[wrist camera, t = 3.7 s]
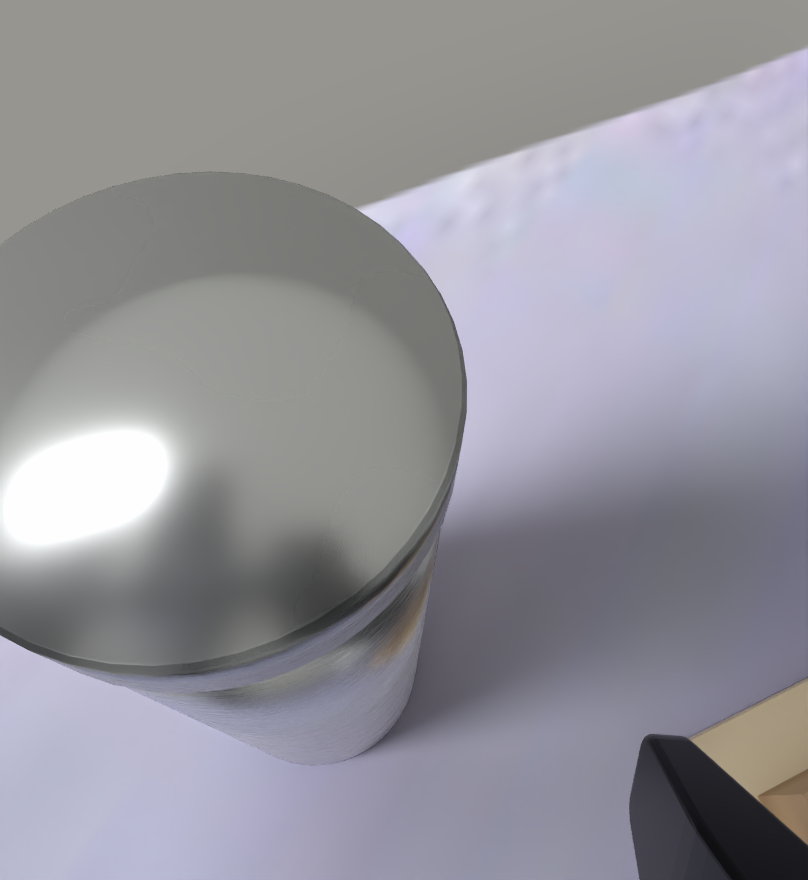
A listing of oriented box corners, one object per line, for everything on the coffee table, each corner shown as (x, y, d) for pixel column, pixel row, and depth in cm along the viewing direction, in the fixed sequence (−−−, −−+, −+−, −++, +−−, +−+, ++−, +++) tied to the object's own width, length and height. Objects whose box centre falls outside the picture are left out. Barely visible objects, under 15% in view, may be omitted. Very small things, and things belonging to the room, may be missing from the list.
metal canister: (450, 714, 17) (571, 517, 6) (256, 804, 17) (-66, 790, 5) (372, 535, 19) (342, 113, 8) (194, 608, 18) (-147, 259, 7)
